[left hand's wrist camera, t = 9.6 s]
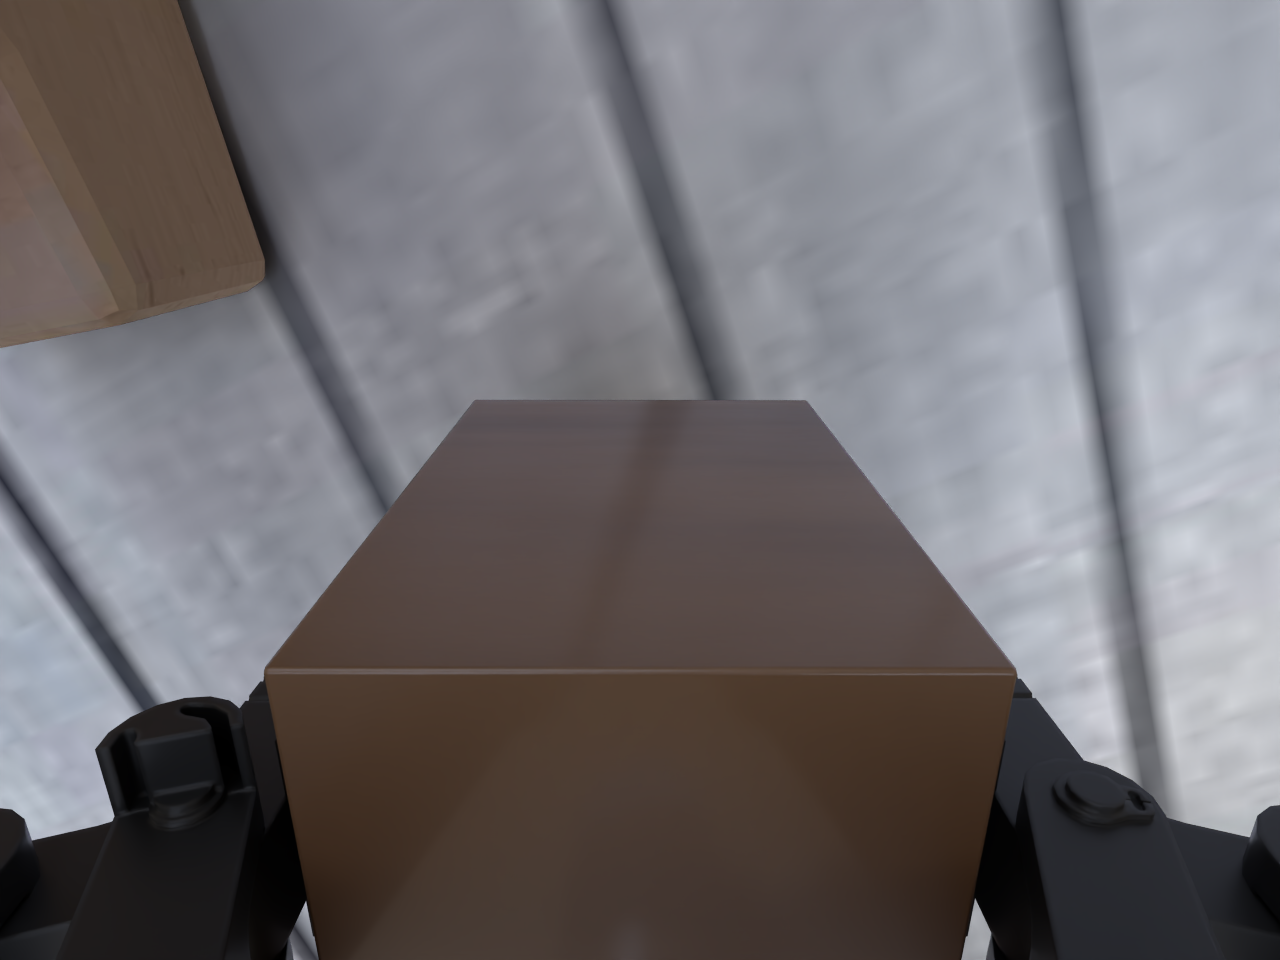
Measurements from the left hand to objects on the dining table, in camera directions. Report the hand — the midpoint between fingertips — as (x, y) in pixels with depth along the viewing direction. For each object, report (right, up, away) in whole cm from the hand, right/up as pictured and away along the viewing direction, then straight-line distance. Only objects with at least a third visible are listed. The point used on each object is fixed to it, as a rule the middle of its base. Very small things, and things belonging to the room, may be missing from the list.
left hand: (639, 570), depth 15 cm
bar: (0, -12, +5) cm, 13 cm away
